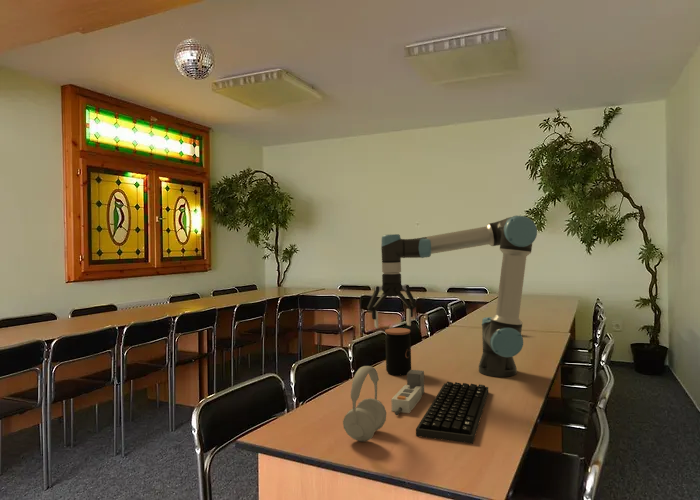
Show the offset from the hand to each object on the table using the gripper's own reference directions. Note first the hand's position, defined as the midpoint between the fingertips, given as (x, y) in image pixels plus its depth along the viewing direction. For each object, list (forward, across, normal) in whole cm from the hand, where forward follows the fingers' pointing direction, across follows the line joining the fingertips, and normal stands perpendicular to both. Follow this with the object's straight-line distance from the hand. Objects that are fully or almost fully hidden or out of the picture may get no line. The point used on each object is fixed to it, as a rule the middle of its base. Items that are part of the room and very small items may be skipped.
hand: (392, 326), depth 186 cm
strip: (+22, +6, +28) cm, 36 cm away
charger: (+22, -1, +19) cm, 29 cm away
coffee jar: (+22, -6, -11) cm, 25 cm away
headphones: (+22, +25, +47) cm, 58 cm away
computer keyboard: (+23, -8, +38) cm, 45 cm away
